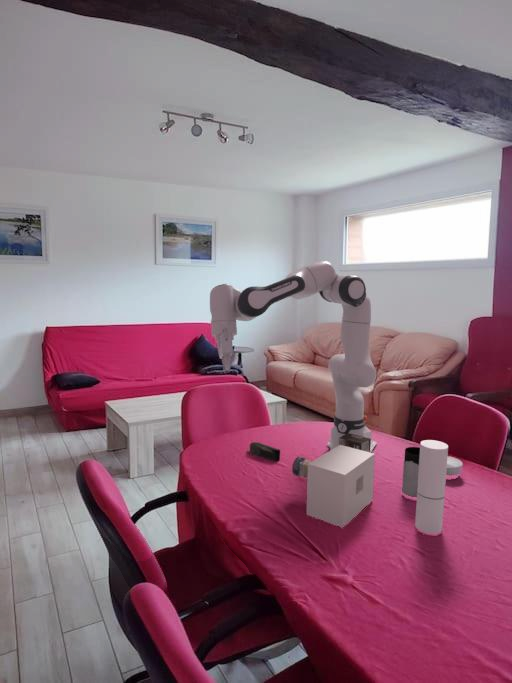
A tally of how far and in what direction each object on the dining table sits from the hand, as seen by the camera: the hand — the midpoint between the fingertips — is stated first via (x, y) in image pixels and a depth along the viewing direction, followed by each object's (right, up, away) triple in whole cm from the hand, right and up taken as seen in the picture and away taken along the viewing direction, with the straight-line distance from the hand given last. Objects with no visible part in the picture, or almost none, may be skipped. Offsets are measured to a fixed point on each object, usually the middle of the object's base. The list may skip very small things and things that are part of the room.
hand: (226, 370), depth 159 cm
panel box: (+36, -41, -18) cm, 57 cm away
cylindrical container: (+59, -43, -29) cm, 79 cm away
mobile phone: (+13, -36, +22) cm, 44 cm away
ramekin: (+78, -39, +8) cm, 88 cm away
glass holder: (+64, -40, -6) cm, 76 cm away
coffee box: (+44, -39, 0) cm, 59 cm away
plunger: (+29, -34, -13) cm, 47 cm away
